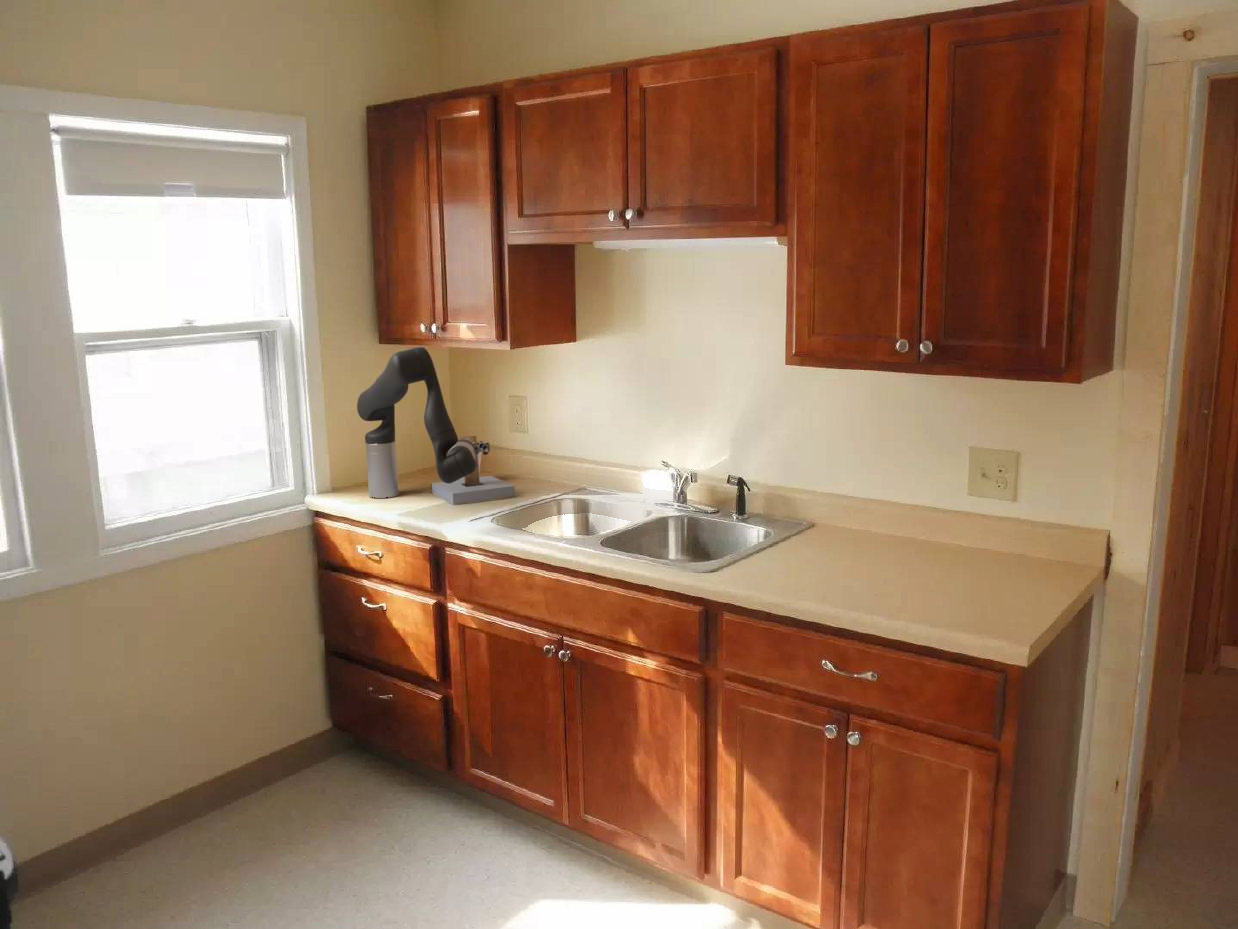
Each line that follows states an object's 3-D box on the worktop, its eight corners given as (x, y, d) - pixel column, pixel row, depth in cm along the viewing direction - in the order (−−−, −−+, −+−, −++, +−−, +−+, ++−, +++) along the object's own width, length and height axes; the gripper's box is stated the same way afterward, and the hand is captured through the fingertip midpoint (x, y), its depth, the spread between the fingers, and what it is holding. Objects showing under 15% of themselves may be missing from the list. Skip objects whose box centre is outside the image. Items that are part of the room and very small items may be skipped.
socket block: (432, 493, 327) (431, 482, 327) (491, 486, 337) (490, 475, 336) (453, 504, 310) (452, 493, 309) (514, 496, 319) (514, 485, 319)
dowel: (463, 493, 324) (459, 437, 321) (477, 491, 326) (473, 435, 323) (468, 495, 320) (464, 438, 317) (482, 493, 322) (478, 437, 319)
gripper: (486, 441, 293) (490, 431, 309) (436, 442, 292) (442, 432, 308) (487, 467, 295) (491, 456, 311) (437, 468, 294) (443, 457, 310)
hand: (466, 444), depth 309 cm, fingers open, 8 cm apart
